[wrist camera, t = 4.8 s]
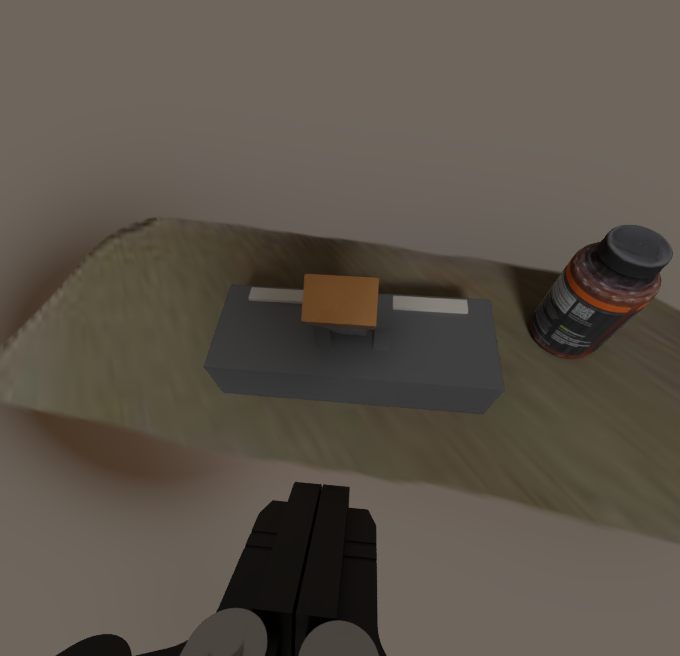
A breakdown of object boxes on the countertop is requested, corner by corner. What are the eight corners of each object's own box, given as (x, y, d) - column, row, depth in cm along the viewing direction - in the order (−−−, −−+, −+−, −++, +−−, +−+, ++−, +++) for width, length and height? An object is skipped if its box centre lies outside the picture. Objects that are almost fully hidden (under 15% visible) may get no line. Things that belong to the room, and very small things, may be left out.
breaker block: (473, 331, 34) (503, 275, 27) (483, 414, 30) (521, 371, 23) (245, 316, 36) (220, 260, 29) (223, 392, 31) (188, 346, 25)
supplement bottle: (591, 313, 35) (681, 220, 25) (598, 368, 32) (705, 285, 22) (525, 302, 36) (589, 208, 26) (527, 354, 32) (599, 268, 23)
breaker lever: (372, 313, 28) (379, 277, 13) (371, 336, 28) (376, 326, 13) (337, 311, 28) (304, 273, 14) (335, 334, 28) (301, 321, 13)
